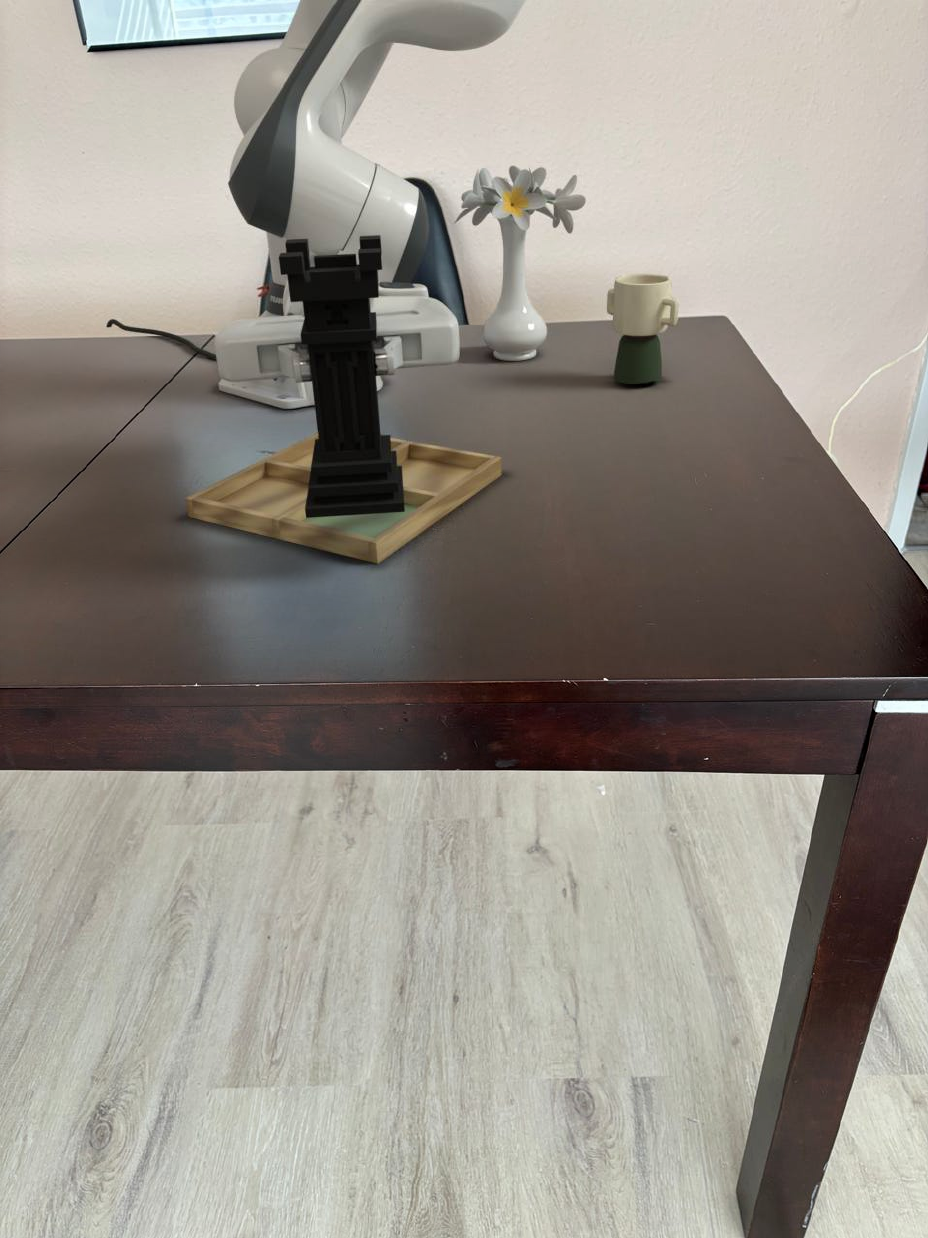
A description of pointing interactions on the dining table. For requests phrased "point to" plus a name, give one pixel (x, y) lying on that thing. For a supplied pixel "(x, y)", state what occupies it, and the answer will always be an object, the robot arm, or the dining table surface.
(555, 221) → the flower vase
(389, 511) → the chess piece
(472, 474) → the grid
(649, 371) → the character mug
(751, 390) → the dining table surface
